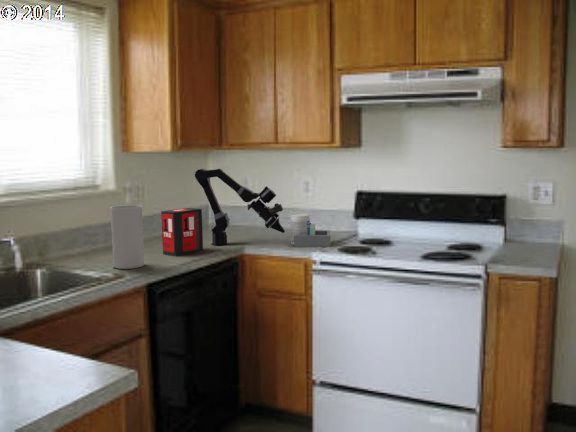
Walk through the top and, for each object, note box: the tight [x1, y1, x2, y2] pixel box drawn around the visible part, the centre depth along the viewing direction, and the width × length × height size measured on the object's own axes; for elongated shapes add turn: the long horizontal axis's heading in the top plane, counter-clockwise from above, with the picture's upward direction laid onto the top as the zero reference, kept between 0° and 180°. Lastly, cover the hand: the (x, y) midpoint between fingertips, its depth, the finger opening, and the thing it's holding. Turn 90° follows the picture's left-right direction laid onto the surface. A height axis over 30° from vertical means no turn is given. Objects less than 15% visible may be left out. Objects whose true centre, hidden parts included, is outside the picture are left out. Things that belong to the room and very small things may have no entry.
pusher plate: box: [310, 223, 316, 235], centre depth 300 cm, size 2×13×9 cm, turn 176°
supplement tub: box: [290, 213, 311, 246], centre depth 300 cm, size 10×10×15 cm
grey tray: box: [293, 230, 331, 248], centre depth 300 cm, size 18×17×6 cm
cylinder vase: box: [110, 204, 145, 270], centre depth 251 cm, size 12×12×25 cm
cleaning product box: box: [160, 207, 204, 257], centre depth 282 cm, size 16×9×20 cm, turn 139°
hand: (284, 232), depth 301 cm, fingers closed
